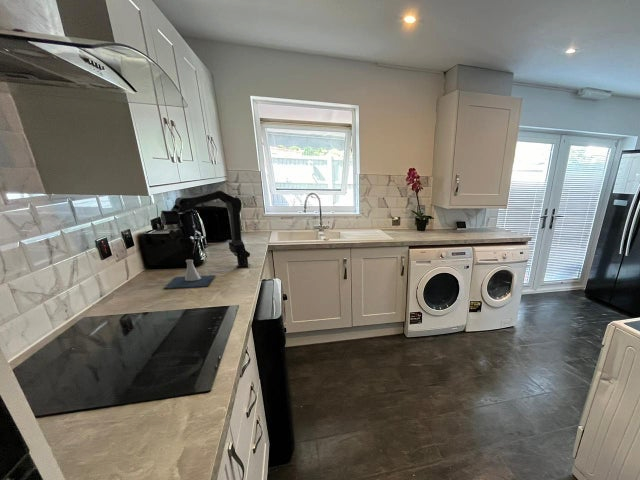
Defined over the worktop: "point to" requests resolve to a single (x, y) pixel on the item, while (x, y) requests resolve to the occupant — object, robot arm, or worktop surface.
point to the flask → (191, 272)
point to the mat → (190, 282)
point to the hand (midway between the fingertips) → (193, 253)
